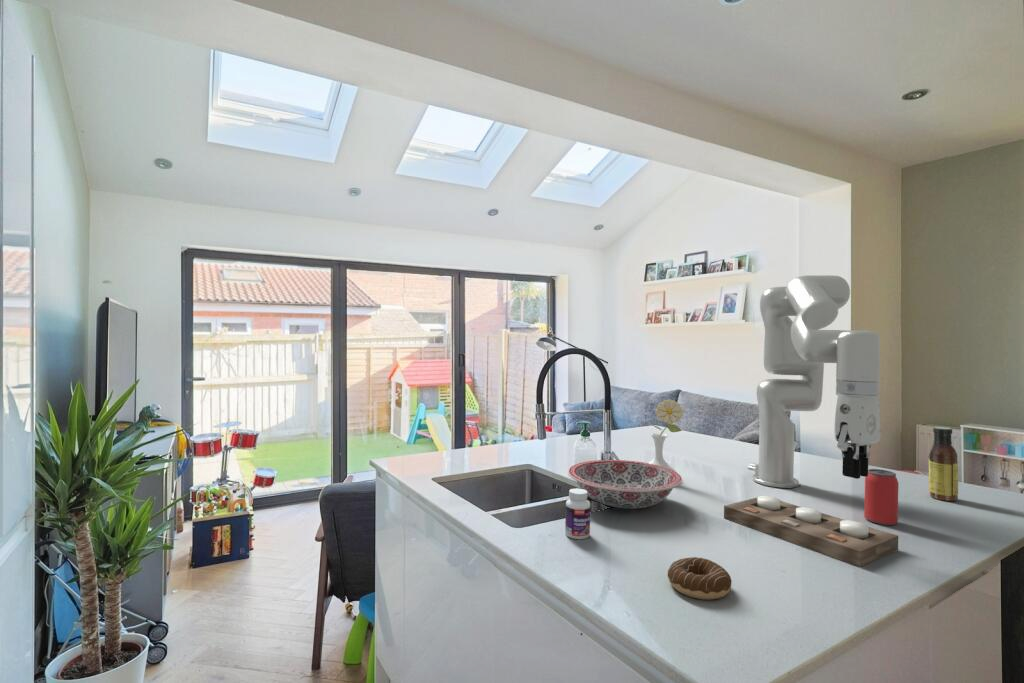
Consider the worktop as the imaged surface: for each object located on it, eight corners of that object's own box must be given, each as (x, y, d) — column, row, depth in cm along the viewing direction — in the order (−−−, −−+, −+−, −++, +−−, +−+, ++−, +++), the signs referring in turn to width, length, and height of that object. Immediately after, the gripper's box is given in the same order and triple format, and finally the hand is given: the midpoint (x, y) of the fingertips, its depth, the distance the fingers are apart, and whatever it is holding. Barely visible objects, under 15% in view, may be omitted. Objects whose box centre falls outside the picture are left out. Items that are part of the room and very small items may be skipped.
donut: (744, 603, 84) (744, 579, 84) (682, 605, 83) (682, 581, 83) (713, 573, 94) (713, 552, 94) (658, 574, 94) (658, 553, 94)
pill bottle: (574, 541, 108) (575, 496, 108) (560, 532, 113) (561, 489, 113) (594, 537, 110) (595, 492, 110) (580, 528, 115) (581, 486, 115)
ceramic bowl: (597, 481, 154) (597, 454, 154) (695, 500, 137) (696, 470, 137) (547, 506, 130) (547, 475, 130) (658, 533, 113) (659, 497, 113)
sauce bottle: (946, 495, 144) (948, 425, 144) (964, 502, 138) (966, 430, 138) (922, 494, 145) (923, 425, 144) (938, 501, 138) (940, 429, 138)
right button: (835, 532, 108) (835, 522, 108) (847, 527, 111) (847, 518, 111) (861, 540, 104) (861, 530, 104) (872, 535, 106) (873, 526, 106)
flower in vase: (633, 480, 155) (635, 398, 155) (646, 472, 165) (648, 395, 164) (676, 487, 148) (678, 402, 147) (687, 479, 157) (689, 398, 157)
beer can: (893, 519, 124) (894, 470, 124) (901, 528, 118) (902, 477, 118) (861, 514, 127) (862, 467, 127) (867, 523, 121) (868, 473, 121)
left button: (752, 505, 124) (753, 497, 124) (765, 502, 127) (765, 494, 127) (772, 512, 120) (772, 503, 120) (784, 508, 123) (784, 500, 123)
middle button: (791, 518, 116) (791, 509, 116) (803, 514, 119) (803, 506, 119) (813, 525, 112) (813, 516, 112) (825, 521, 115) (825, 512, 115)
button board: (723, 517, 123) (724, 504, 123) (763, 507, 132) (763, 494, 132) (859, 566, 98) (860, 549, 98) (898, 550, 106) (898, 534, 106)
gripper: (857, 392, 100) (855, 486, 100) (895, 389, 108) (893, 475, 108) (817, 389, 106) (816, 476, 106) (856, 386, 114) (855, 467, 114)
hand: (855, 475), depth 107 cm, fingers open, 2 cm apart
